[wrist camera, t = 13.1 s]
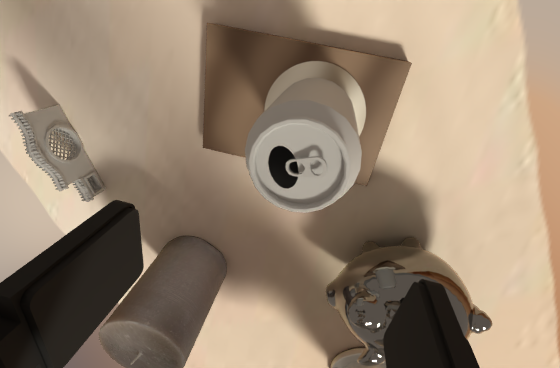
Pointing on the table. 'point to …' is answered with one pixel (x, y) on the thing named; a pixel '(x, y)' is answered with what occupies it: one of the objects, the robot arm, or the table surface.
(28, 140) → the lattice window wall
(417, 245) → the piggy bank
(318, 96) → the can
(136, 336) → the pillar candle
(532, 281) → the table surface
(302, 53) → the board
